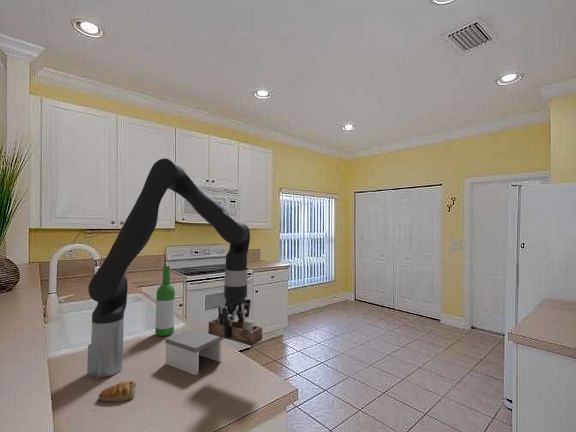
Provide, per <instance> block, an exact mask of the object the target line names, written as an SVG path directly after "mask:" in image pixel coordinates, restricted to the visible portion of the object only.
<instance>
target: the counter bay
mask: <svg viewBox="0 0 576 432" xmlns="http://www.w3.org/2000/svg"><path fill="white" fill-rule="evenodd" d="M223 340H224V338H222V337H219V336H215V335H212V334H208V330H204V329H200V328H197V327H191V328H190V329H187V330H184V331H181V332H179V333H176V334H174V335H170V336H167V337H165V340H164V341H165V342H164V343H165V361H164V362H165V363H164V364H165V365H167V366H171V367H173V368H176V369H178V370H180V371H184V372H186V373H188V374H191V375H194V376H197V375H199V367H200V366H199V363H200V362H199V359H200V357H204V358H207V359H210V360H212V361H214V362H215V361H216V362H218V363H220V362H222V360H223V359H222V358H223V353H222V352H223ZM199 356H200V357H199Z"/></svg>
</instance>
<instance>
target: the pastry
mask: <svg viewBox="0 0 576 432" xmlns="http://www.w3.org/2000/svg"><path fill="white" fill-rule="evenodd" d="M137 389H138V388H137V383H136V380H135V379H132V380H128V381H121V382H119V383H116V384H114V385H111V386H109V387H106V388H104V389H103V390H102V391H101V392H100V393H99V395H98V399H99V400H100V401H101V402H103V401H112V402H111V403H115V402H114V401H117V402H122V401H121V400H125V401H128V400H127V399H130V400H132V398H133V399H134V398H135V396H136V391H137Z"/></svg>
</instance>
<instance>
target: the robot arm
mask: <svg viewBox="0 0 576 432" xmlns="http://www.w3.org/2000/svg"><path fill="white" fill-rule="evenodd" d="M167 190H170V191H173V192H175V193H176V194H178V195H179V196H180V197H182V198H183V199H185V200H186V201H187V202H188V204H189V205H191V207H192V208H193V209H194V210H195V212H196V213H197V214H198V215H199V216H201V218H202V219H204V220H205V221H206V222H207V223H208V224H209V225H210V226H212V227H213V228H214V229H215V231H216V232H217V233H218V235H219V236H220V237H221V238H222V239H223V240H225V242H227V243H228V244H229V250H228V252H227V253H226V255H225V271H224V282H223V283H224V285H223V286H224V287H223V297H224V298H225V303H224V306H219V307H218V309H217V311H218V315H219V322H220V325H223V326H225V332H224V335H225V337H226V338H231V337H232V322H233V320H234V321H235V319H236V318H237V321H238V322H242V323H243V321H244V320H247V318H249V316H250V310H251V304H252V303H251V301H252V299H248V298H247V297H248V253H249V248H250V243H251V242H250V241H251V232H250V229H249V226H248V225H247V224H245V223H243V222H237V221H236V220H235V219H234V218H233V217H231V216H230V214H229V212H228V211H227V210H226V208H225V207H224V206H222V205H221V204H220V203H219V202H218V201H217V200H215V199H214V198H212V197H211V196H210V195H208V193H207V192H205V191H204V190H203V189H201V188H200V187H199V186H198V185H197V184H196V183H195V182H194V181H193V179H191V177H190V176H189V175H188V173H187V172H186V171H185V170H184V168H183V167H182V166H181V165H179V164H178V163H176V162H175V161H173V160H172V159H169V158H165V157H164V158H160V159H158V160H157V161H155V162H154V163H153V165H152V167H151V168H150V170H149V172H148V174H147V177H146V180H145V182H144V185H143V187H142V189H141V192H140V194H139V196H138V197H137V199H136V201H135V203H134V205H133V207H132V209H131V210H130V212H129V215H128V216H127V217H126V219H125V221H124V223H123V225H122V226H121V229H120V231H119V232H118V234H117V236H116V238H115V240H114V242H113V244H112V246H111V248H110V250H109V252H108V254H107V256H106V257H105V259H104V261H103V262H102V263H101V265H100V266H99V268H98V270H97V271H96V272H95V274H94V275H93V277H92V278H91V280H90V281H89V283H88V288H87V289H88V295H89V297H90V298H91V299H92V300H93V301H95V302H97V304H96V307H95V308H94V310H93V312H92V314H91V331H90V332H91V333H90V335H91V337H90V344H88V345H87V362H86V363H87V364H86V365H87V368H86V369H87V370H86V374H87V375H88V376H90V377H92V378H94V379H96V380H99V379H101V378H105V377H106V378H107V377H111V376H113V375H116V374H118V373H119V372H121V370H122V369H123V357H124V353H123V352H124V327H125V326H124V321H125V318H124V317H125V312H126V311H125V310H126V308H127V302H128V301H127V300H128V285H129V284H128V283H129V282H128V278H127V276H126V275H125V273H126V271H127V270H128V268H129V266H131V264H132V262H133V261H134V260H135V258H136V257H137V256H138V255H139V254H140V253H141V252H142V250H143V249H144V248H145V247H146V245H147V244H148V242H149V240H150V239H151V236H152V235H153V233H154V231H155V228H156V226H157V224H158V219H159V209H160V204H161V201H162V200H163V197H164V196H165V194H166V193H167ZM236 316H237V317H236ZM223 319H224V321H223ZM228 319H230V320H229V322H228ZM226 338H225V339H226Z"/></svg>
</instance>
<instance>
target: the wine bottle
mask: <svg viewBox="0 0 576 432" xmlns="http://www.w3.org/2000/svg"><path fill="white" fill-rule="evenodd" d="M170 281H171V266H170V265H163V266H162V284H161V285H159V286H158V288H157V290H156V294H155V296H156V298H155V324H154V325H155V327H154V329H155V335H156V336H158V337H169V336H171V335H172V334H173V333H174V332H175V331H174V330H175V306H176V305H175V304H176V303H175V302H176V300H175V299H176V290H175V288H174V286H173V285H172V284H171V283H170Z"/></svg>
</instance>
